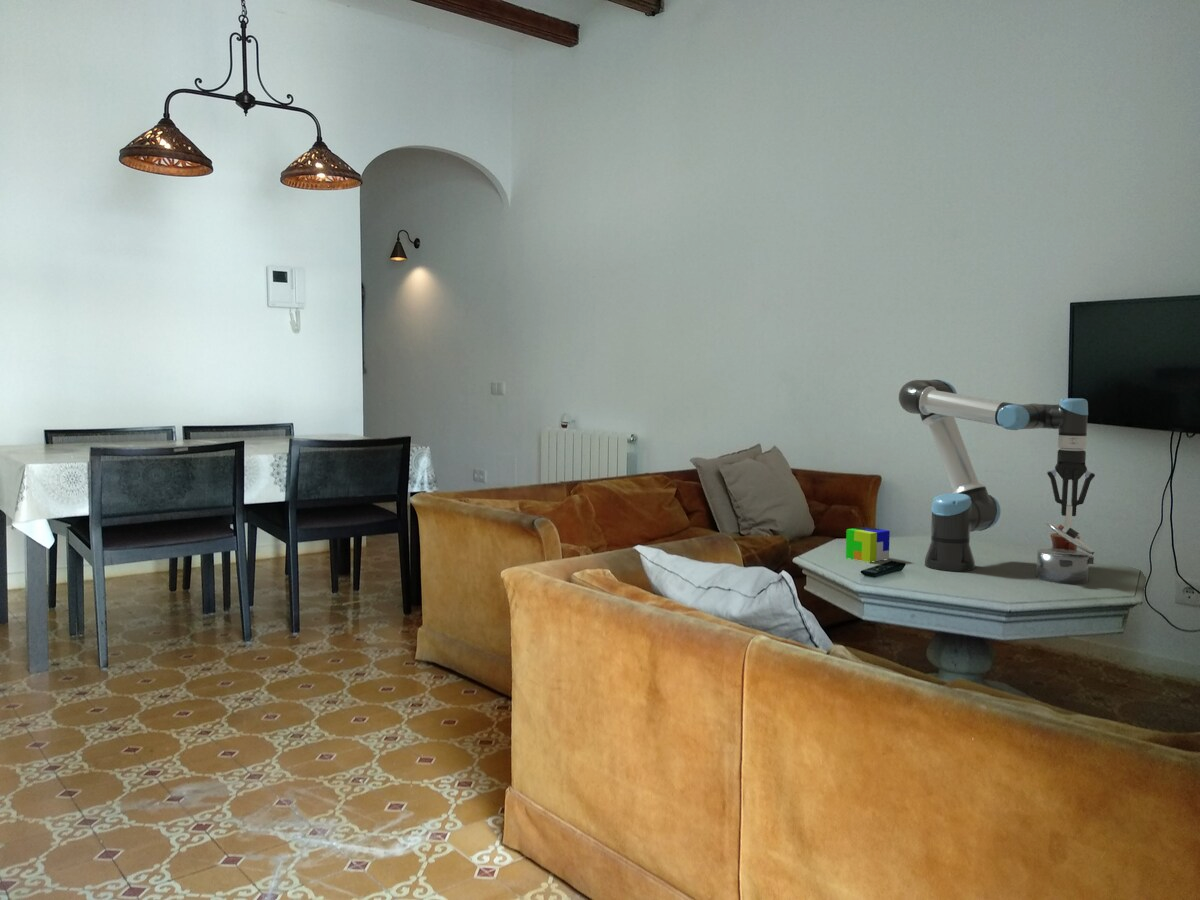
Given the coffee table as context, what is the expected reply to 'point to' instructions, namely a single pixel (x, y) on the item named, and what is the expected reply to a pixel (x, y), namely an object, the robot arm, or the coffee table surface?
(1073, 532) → the lid
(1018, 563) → the coffee table surface
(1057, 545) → the mug
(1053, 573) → the pot
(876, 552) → the puzzle toy
